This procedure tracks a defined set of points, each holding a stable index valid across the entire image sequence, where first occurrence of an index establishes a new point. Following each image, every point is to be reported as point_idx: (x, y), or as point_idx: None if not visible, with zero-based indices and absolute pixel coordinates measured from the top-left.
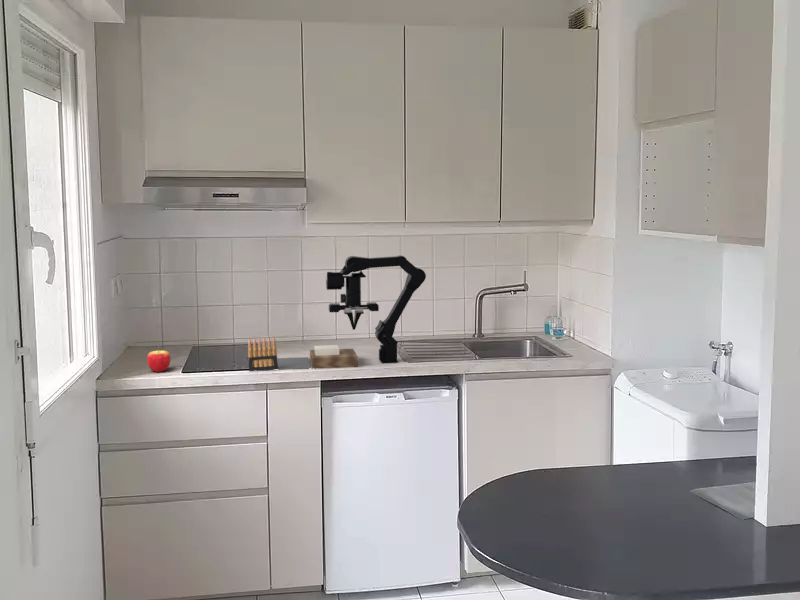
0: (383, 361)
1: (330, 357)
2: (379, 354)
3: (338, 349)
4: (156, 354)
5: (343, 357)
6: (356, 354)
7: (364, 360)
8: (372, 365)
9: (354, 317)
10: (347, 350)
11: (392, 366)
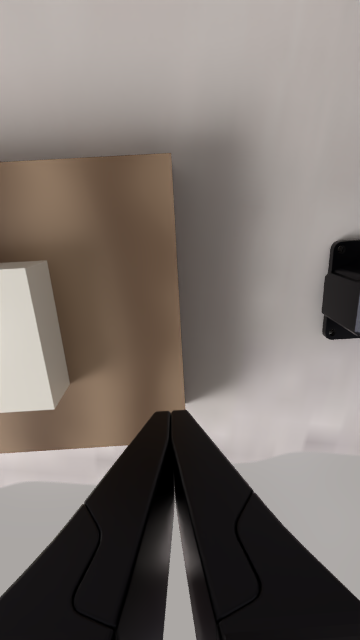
0: (336, 332)
1: (20, 451)
2: (339, 318)
3: (51, 403)
4: None
5: (100, 444)
6: (183, 385)
7: (238, 240)
8: (262, 378)
9: (204, 599)
10: (123, 236)
11: (354, 409)
